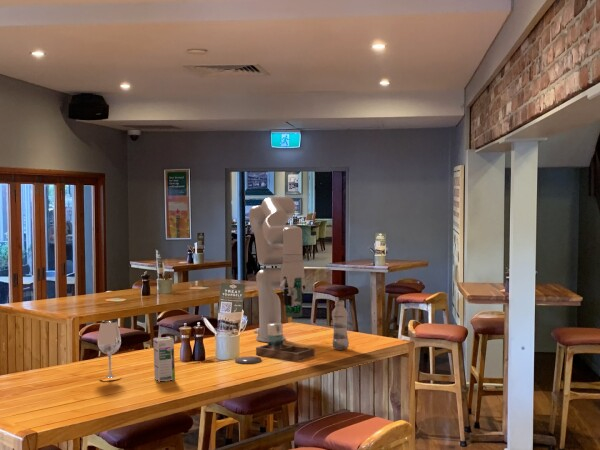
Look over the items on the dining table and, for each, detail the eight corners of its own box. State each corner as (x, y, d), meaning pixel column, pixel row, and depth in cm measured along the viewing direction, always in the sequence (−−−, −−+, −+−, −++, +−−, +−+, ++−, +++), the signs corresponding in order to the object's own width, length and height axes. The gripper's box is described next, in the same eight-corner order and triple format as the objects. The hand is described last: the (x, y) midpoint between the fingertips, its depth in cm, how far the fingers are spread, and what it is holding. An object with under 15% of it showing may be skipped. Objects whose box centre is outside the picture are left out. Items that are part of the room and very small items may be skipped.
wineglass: (126, 376, 239) (124, 320, 239) (113, 382, 232) (111, 324, 231) (107, 375, 242) (105, 319, 241) (94, 381, 234) (92, 323, 234)
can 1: (264, 354, 271) (264, 324, 270) (274, 351, 275) (274, 322, 275) (276, 356, 267) (275, 326, 266) (286, 353, 272) (285, 323, 271)
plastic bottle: (349, 351, 274) (348, 301, 273) (332, 351, 274) (331, 302, 273) (348, 347, 280) (347, 299, 279) (332, 348, 280) (331, 299, 280)
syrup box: (158, 382, 230) (157, 340, 230) (154, 379, 235) (153, 337, 235) (175, 380, 233) (174, 338, 232) (170, 376, 238) (169, 335, 238)
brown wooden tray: (256, 354, 270) (256, 347, 270) (274, 350, 279) (274, 342, 279) (297, 361, 257) (297, 353, 257) (314, 356, 266) (314, 348, 266)
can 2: (283, 316, 263) (283, 278, 262) (289, 314, 269) (289, 276, 268) (298, 317, 261) (297, 278, 260) (304, 314, 266) (303, 276, 266)
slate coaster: (229, 361, 259) (229, 360, 259) (247, 356, 267) (247, 355, 267) (249, 365, 253) (248, 363, 253) (266, 360, 261) (266, 358, 261)
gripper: (299, 256, 273) (300, 300, 274) (271, 260, 259) (272, 306, 260) (314, 257, 268) (314, 302, 269) (286, 260, 255) (287, 308, 255)
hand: (293, 303), depth 265 cm, fingers closed on can 2, 6 cm apart
